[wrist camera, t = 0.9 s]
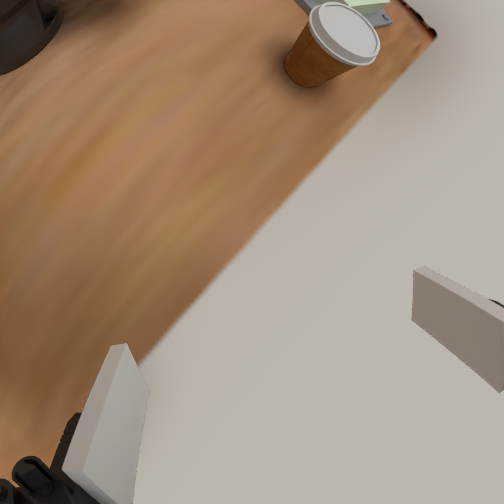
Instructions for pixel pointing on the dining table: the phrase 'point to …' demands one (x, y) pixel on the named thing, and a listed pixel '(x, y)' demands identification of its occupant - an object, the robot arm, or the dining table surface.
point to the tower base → (370, 17)
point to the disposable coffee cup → (331, 45)
